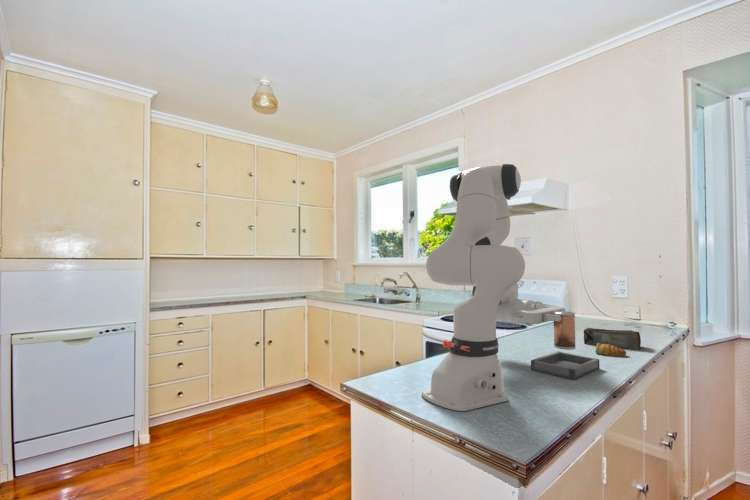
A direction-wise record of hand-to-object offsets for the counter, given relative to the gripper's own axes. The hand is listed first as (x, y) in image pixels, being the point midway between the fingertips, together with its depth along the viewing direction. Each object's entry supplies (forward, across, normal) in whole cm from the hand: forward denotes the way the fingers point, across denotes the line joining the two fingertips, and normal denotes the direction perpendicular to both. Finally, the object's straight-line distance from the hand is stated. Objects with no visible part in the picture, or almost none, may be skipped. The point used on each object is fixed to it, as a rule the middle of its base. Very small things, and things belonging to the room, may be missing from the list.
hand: (566, 317), depth 114 cm
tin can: (-1, 0, +10) cm, 10 cm away
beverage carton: (-4, +48, +17) cm, 51 cm away
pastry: (0, +32, +17) cm, 36 cm away
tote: (-1, 0, +17) cm, 17 cm away
